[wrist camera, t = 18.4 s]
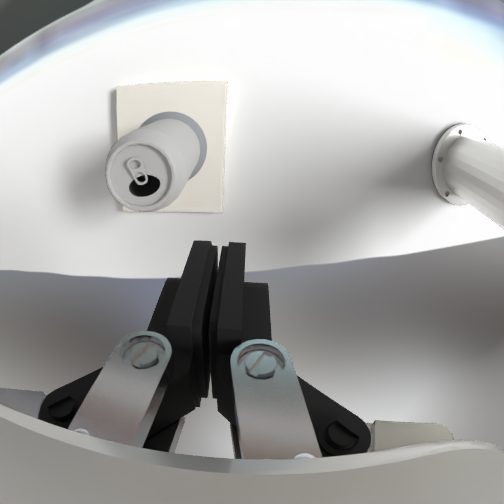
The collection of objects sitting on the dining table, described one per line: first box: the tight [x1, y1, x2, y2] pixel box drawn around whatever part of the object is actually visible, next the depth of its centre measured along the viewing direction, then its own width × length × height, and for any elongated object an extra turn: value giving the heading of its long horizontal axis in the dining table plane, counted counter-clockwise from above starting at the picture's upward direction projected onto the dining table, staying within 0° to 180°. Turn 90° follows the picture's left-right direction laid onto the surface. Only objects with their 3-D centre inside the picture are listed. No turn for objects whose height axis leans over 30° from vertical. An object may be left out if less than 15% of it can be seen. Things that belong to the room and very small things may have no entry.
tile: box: [117, 81, 228, 213], centre depth 34 cm, size 13×16×2 cm
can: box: [105, 119, 200, 212], centre depth 28 cm, size 8×8×12 cm
